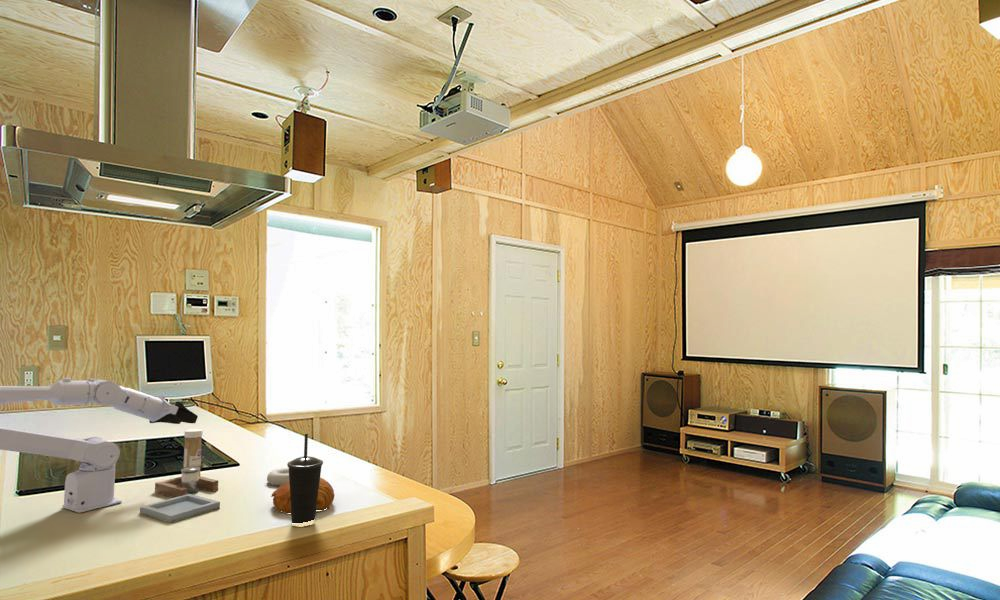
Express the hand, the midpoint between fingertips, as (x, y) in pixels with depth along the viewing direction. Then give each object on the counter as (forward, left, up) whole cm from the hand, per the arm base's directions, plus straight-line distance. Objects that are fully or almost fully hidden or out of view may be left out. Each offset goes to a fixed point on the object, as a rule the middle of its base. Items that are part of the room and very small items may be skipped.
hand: (188, 420), depth 156 cm
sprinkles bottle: (+6, +7, -18) cm, 20 cm away
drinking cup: (-4, -49, -18) cm, 52 cm away
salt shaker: (-3, -6, -18) cm, 19 cm away
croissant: (+5, -39, -18) cm, 43 cm away
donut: (+17, -19, -18) cm, 31 cm away
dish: (-13, -18, -18) cm, 28 cm away
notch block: (-3, -5, -18) cm, 19 cm away
